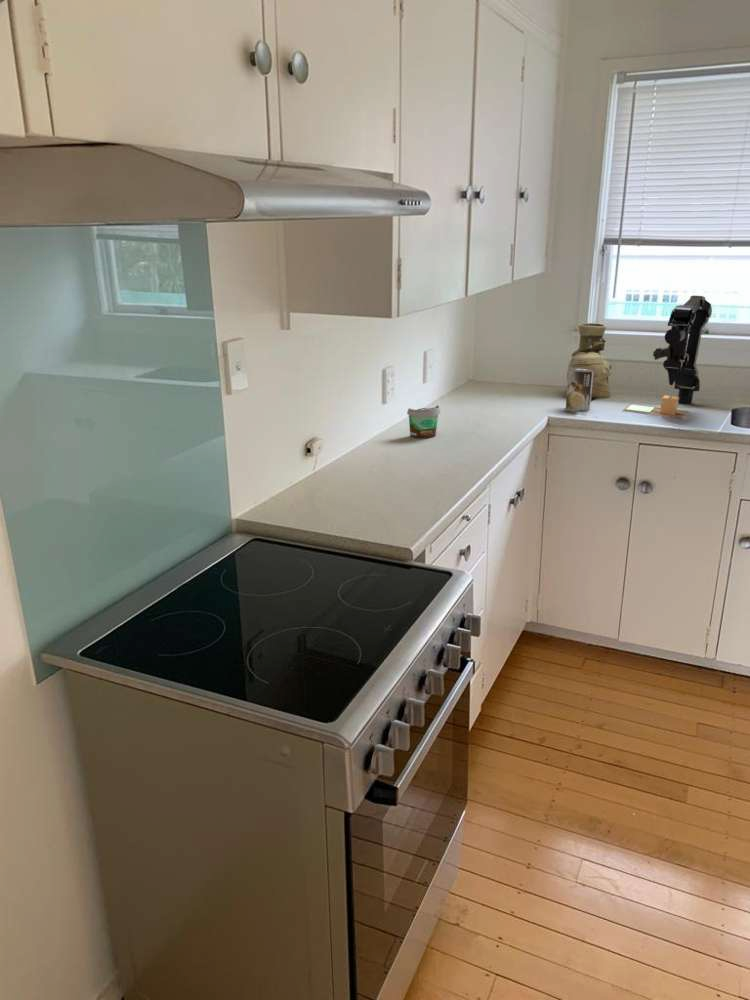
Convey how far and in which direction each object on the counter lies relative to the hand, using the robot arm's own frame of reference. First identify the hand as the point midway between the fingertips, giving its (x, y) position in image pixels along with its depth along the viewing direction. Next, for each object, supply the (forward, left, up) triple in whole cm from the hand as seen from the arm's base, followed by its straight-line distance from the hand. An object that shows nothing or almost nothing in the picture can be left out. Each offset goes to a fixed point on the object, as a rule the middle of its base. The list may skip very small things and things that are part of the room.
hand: (673, 382), depth 283 cm
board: (0, -5, -13) cm, 14 cm away
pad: (0, -11, -12) cm, 16 cm away
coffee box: (+11, -32, -13) cm, 36 cm away
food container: (+77, -65, -13) cm, 102 cm away
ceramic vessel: (-17, -36, -13) cm, 42 cm away
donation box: (0, 0, -12) cm, 12 cm away
